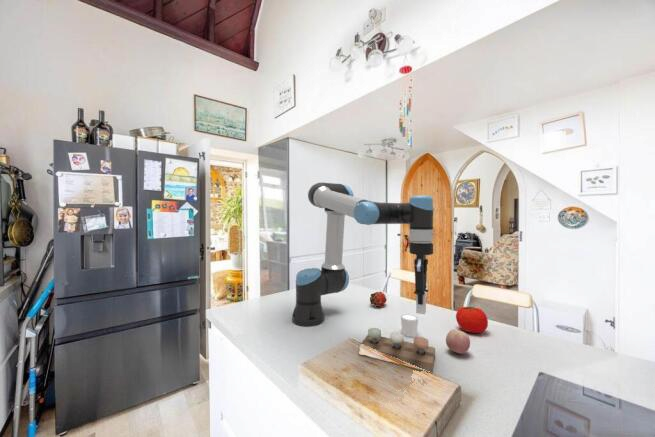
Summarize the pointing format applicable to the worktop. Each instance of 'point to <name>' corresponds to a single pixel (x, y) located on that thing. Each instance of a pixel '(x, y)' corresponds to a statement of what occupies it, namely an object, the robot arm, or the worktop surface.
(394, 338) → the button ivory
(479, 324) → the tomato
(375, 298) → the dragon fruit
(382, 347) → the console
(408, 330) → the white cylinder
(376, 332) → the button sage
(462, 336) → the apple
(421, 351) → the button terracotta
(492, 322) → the worktop surface
